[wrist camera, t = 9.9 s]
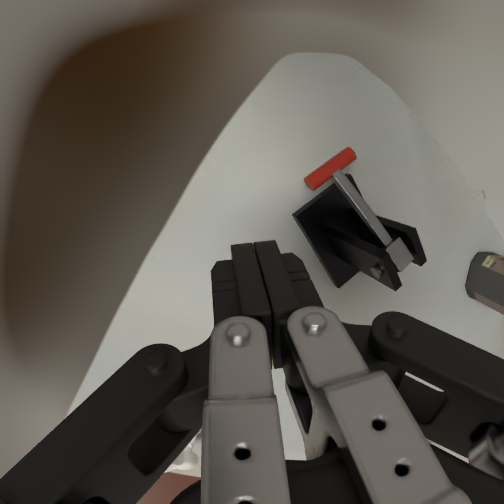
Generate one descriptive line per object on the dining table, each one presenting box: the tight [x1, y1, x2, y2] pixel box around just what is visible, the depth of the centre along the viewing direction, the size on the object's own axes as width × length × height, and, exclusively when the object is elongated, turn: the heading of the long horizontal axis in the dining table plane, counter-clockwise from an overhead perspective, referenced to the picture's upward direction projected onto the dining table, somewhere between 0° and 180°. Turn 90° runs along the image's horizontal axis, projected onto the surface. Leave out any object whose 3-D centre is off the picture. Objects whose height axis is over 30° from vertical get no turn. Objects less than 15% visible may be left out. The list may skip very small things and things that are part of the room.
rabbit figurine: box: [164, 427, 202, 473], centre depth 38 cm, size 12×8×10 cm, turn 166°
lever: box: [304, 147, 414, 272], centre depth 31 cm, size 13×6×2 cm, turn 35°
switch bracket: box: [292, 174, 427, 291], centre depth 35 cm, size 12×9×13 cm
